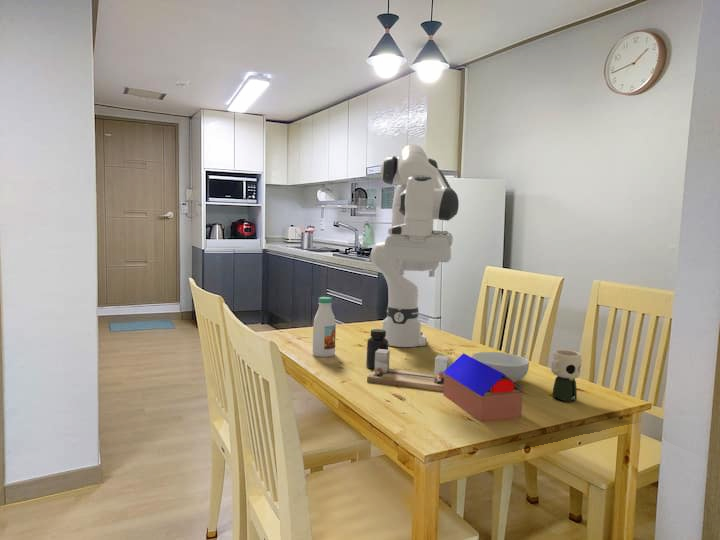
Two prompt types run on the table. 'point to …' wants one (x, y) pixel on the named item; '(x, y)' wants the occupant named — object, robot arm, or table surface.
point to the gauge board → (401, 375)
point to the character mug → (566, 373)
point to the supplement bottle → (375, 346)
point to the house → (482, 390)
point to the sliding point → (440, 367)
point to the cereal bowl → (505, 363)
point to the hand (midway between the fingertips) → (416, 275)
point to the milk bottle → (324, 329)
